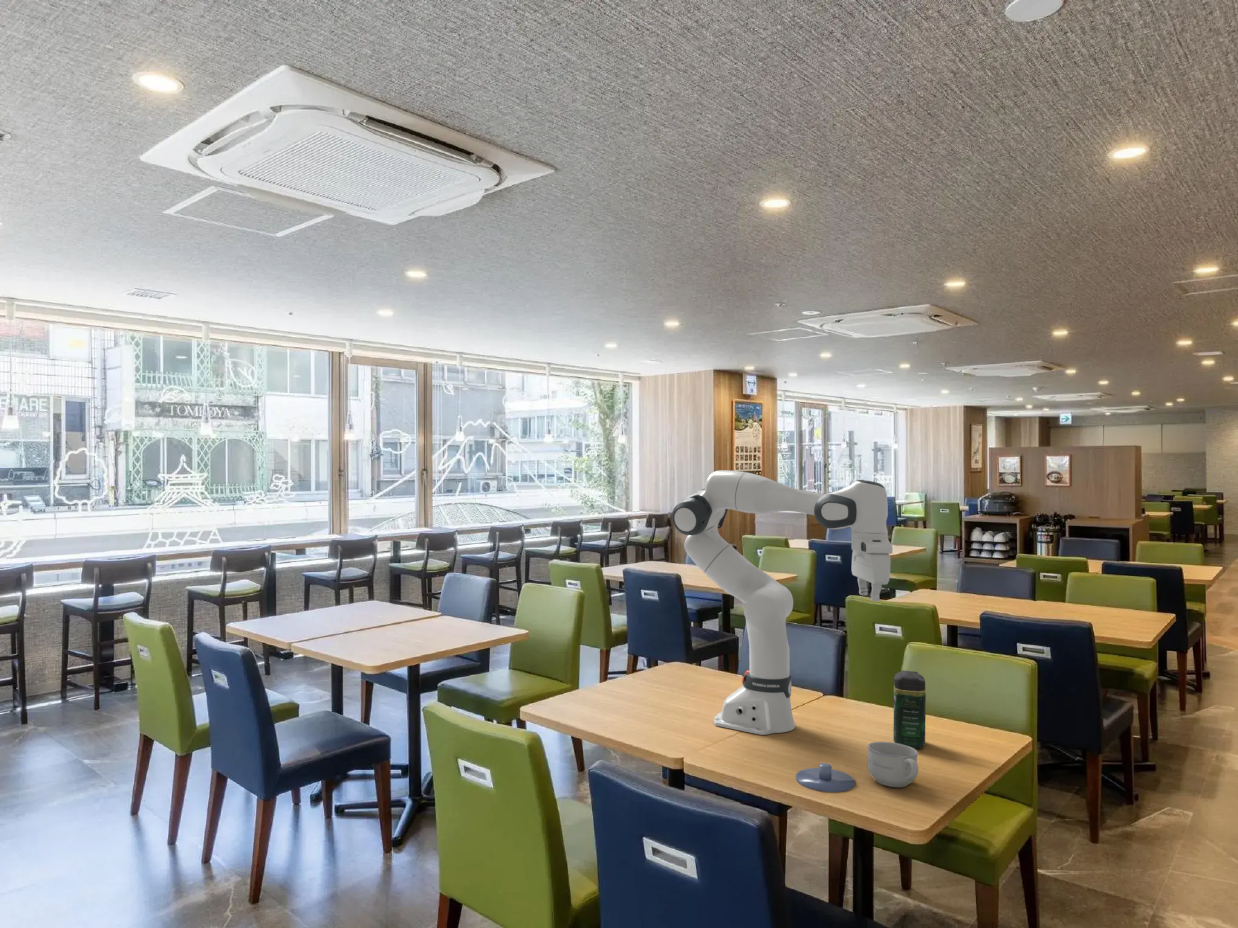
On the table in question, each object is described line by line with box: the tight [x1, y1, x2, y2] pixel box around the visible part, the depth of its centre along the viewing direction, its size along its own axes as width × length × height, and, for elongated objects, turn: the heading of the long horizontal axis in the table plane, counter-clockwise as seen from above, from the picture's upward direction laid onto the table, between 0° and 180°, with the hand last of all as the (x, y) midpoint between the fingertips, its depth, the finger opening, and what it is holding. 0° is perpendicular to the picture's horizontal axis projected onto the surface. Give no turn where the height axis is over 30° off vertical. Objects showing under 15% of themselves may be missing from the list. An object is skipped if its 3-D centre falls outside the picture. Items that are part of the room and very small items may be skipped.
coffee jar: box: [892, 669, 927, 750], centre depth 208 cm, size 10×8×19 cm
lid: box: [795, 762, 856, 793], centre depth 182 cm, size 13×13×4 cm
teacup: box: [867, 741, 919, 788], centre depth 180 cm, size 14×11×8 cm
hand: (869, 597), depth 203 cm, fingers open, 8 cm apart
